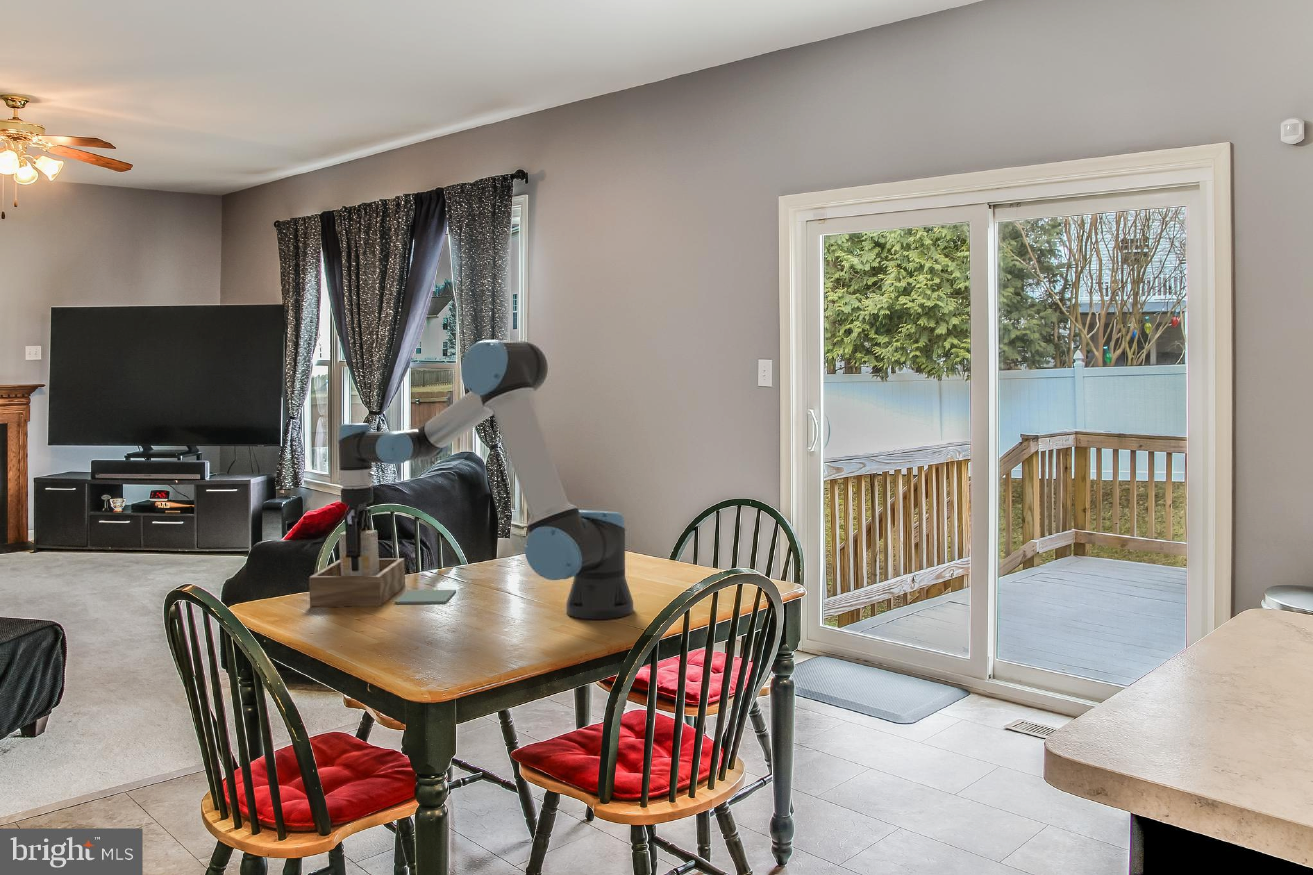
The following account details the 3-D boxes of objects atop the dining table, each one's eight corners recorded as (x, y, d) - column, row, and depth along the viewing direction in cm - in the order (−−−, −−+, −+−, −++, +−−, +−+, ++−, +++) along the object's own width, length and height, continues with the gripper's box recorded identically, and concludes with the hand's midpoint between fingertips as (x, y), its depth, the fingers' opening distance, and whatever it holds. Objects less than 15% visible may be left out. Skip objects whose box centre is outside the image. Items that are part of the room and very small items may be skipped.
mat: (445, 603, 228) (445, 601, 228) (394, 603, 228) (394, 601, 228) (456, 592, 240) (456, 589, 240) (407, 592, 240) (407, 590, 240)
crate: (380, 606, 226) (379, 576, 226) (309, 606, 226) (309, 577, 226) (405, 585, 248) (404, 558, 248) (341, 585, 248) (340, 558, 248)
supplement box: (380, 582, 239) (378, 529, 238) (373, 586, 234) (371, 532, 233) (348, 582, 240) (346, 529, 239) (340, 586, 235) (338, 533, 234)
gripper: (360, 490, 226) (364, 588, 228) (382, 482, 244) (386, 573, 246) (328, 491, 226) (332, 589, 228) (353, 483, 244) (356, 574, 246)
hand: (360, 581), depth 237 cm, fingers closed on supplement box, 5 cm apart
